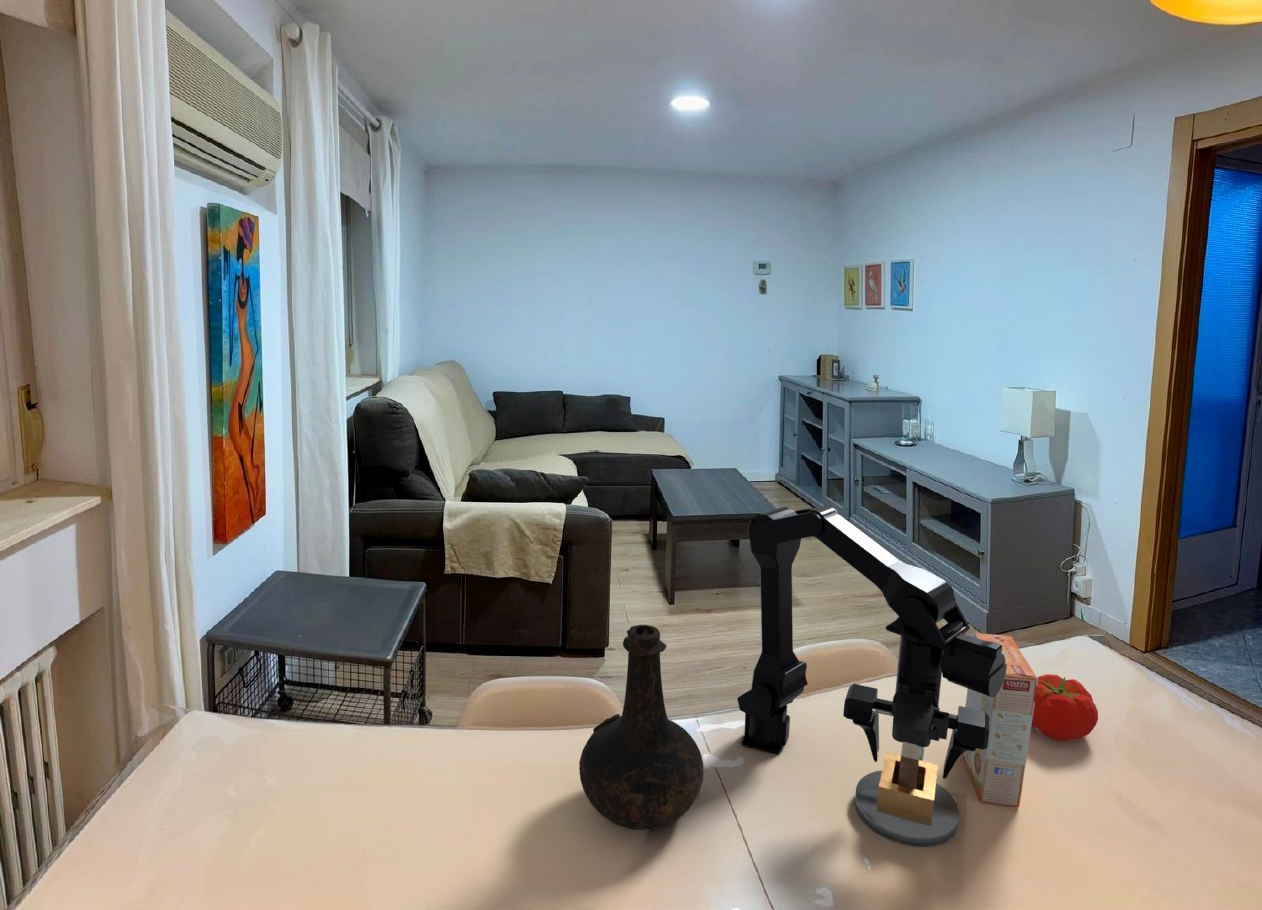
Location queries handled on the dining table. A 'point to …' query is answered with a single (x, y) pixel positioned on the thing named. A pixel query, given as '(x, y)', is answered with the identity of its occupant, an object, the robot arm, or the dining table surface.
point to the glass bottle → (641, 749)
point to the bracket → (907, 805)
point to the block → (909, 765)
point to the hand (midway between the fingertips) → (909, 768)
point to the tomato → (1063, 709)
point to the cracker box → (1004, 729)
